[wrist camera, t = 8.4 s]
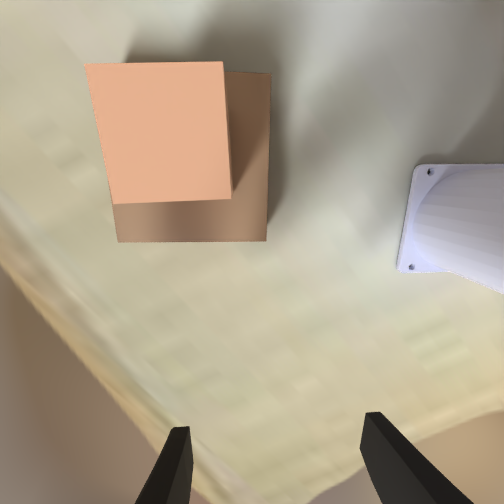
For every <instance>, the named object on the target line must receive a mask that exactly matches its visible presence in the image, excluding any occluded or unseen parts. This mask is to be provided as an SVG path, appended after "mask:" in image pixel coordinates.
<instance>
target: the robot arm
mask: <svg viewBox="0 0 504 504" xmlns="http://www.w3.org/2000/svg"><path fill="white" fill-rule="evenodd" d="M428 169H430V173H429V174H427V171H428ZM409 265H411V267H410V268H409ZM396 267H397V270H398V271H399V272H401V273H422V272H452V273H454V274H456V275H459V276H461V277H463V278H466V279H468V280H471V281H473V282H475V283H478V284H480V285H482V286H485V287H487V288H490V289H492V290H494V291H497V292H499V293H502V294H504V164H421V165H418V166H416V168H415V169H414V172H413V177H412V183H411V188H410V194H409V199H408V205H407V210H406V216H405V221H404V227H403V233H402V238H401V244H400V249H399V255H398V260H397V266H396ZM360 451H361V453H362V456H363V459H364V462H365V465H366V467H367V470H368V472H369V475H370V477H371V480H372V482H373V485H374V487H375V489H376V491H377V493H378V495H379V497H380V500H381V502H382V503H383V504H474V503H473V502H472V501H471V500H469V499H468V498H467V497H466V496H465V495H464V494H463V493H462V492H461V491H460V490H459V489H457V488H456V487H455V486H454V485H453V484H452V483H451V482H450V481H449V480H448V479H447V478H446V477H445V476H444V475H443V474H442V473H441V472H440V471H439V470H437V468H435V466H433V465H432V464H431V463H430V462H429V461H428V460H427V459H426V458H425V457H424V456H423V455H422V454H421V453H420V452H419V451H418V450H417V449H416V448H415V447H414V446H413V445H412V444H411V443H410V442H409V441H408V440H407V439H406V438H405V437H404V436H403V435H402V434H401V433H400V431H399V430H398V429H397V428H396V427H395V426H394V425H393V424H392V423H391V422H390V421H389V420H388V419H387V418H386V417H385V416H384V415H383V414H382V413H381V412H369V413H366V415H365V420H364V426H363V432H362V438H361V444H360ZM193 463H194V462H193V454H192V445H191V436H190V427H189V426H186V427H174V428H173V429H171V431H170V434H169V436H168V438H167V440H166V443H165V445H164V447H163V449H162V451H161V453H160V456H159V458H158V460H157V462H156V464H155V466H154V468H153V470H152V472H151V474H150V476H149V478H148V480H147V481H146V483H145V485H144V487H143V489H142V491H141V493H140V495H139V497H138V498H137V500H136V503H135V504H189V499H190V491H191V482H192V473H193Z"/></svg>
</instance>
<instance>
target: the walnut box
mask: <svg viewBox="0 0 504 504" xmlns="http://www.w3.org/2000/svg"><path fill="white" fill-rule="evenodd" d="M224 75H225V83H226V91H227V99H228V107H229V123H230V140H231V157H232V174H233V191H234V193H233V196H232V199H219V200H196V201H172V202H149V203H126V204H113V200H112V196H111V201H112V207H113V214H114V220H115V226H116V233H117V239H118V242H244V241H266V233H267V199H268V166H269V132H270V98H271V74H269V73H247V72H225V71H224ZM108 182H109V181H108ZM109 188H110V186H109ZM110 195H111V191H110Z"/></svg>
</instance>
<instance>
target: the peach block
mask: <svg viewBox="0 0 504 504" xmlns="http://www.w3.org/2000/svg"><path fill="white" fill-rule="evenodd" d="M84 65H85V70H86V75H87V79H88V84H89V89H90V94H91V99H92V104H93V108H94V113H95V118H96V123H97V128H98V133H99V137H100V142H101V147H102V152H103V157H104V162H105V167H106V171H107V176H108V181H109V186H110V191H111V196H112V200H113V204H126V203H149V202H172V201H196V200H219V199H232V196H233V193H234V191H233V174H232V157H231V140H230V123H229V107H228V99H227V91H226V83H225V75H224V67H223V61H217V62H158V63H100V64H84Z"/></svg>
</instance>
